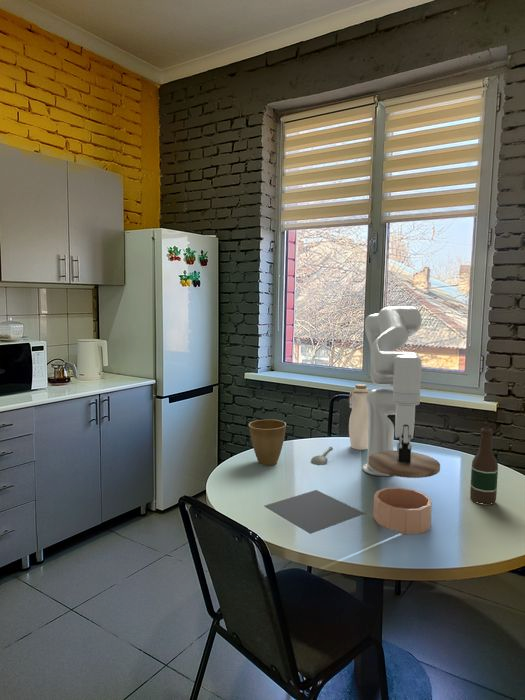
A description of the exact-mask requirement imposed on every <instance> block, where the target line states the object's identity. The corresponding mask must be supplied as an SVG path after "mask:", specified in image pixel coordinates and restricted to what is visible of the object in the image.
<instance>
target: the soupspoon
mask: <svg viewBox="0 0 525 700" xmlns="http://www.w3.org/2000/svg"><path fill="white" fill-rule="evenodd" d="M333 450H334V448H333V447H332V446H329V447H328V448H327V449H326V450H325V451H324V452H323V453H322V454H321V455H319V454H318V455H315V456H312V458H311V460H310V464H312V465H315V466H325V465H326V464H327V463H328V458H327V456H325V455H326V454H327V452H328V451H333Z"/></svg>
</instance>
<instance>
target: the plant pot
mask: <svg viewBox="0 0 525 700" xmlns="http://www.w3.org/2000/svg"><path fill="white" fill-rule="evenodd" d="M286 427H287V423H286V422H285V421H283V420H279V419H259V420H254V421H250V422H249V423H248V429H249V435H250V440H251V444H252V448H253V451H254V454H255V457H256V459H257V462H258V464H259V465H261V466H264V465H265V467H267V466H269V467H270V466H275V465H277V464H278V462H279V458H280V455H281V452H282V448H283V444H284V440H285V435H286V429H287V428H286Z"/></svg>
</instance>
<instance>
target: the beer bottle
mask: <svg viewBox="0 0 525 700" xmlns="http://www.w3.org/2000/svg"><path fill="white" fill-rule="evenodd" d="M479 432H480V441H479V448H478V452H477V453H476V455H475V456H474V457H473V459H472V460H471V461H472V462H471V463H472V464H471V474H470V491H469V492H470V493H469V494H470V495H469V496H470V497H469V498H470V500H471V499H472V500H471V501H472V502H474V503H475V502H478V503H483V504H491V503H494V502H495V501H497V493H498V492H497V491H498V489H497V488H498V477H499V476H498V474H499V473H498V472H499V464H498V463H499V462H498V460H497V458H496V456H495V455H494V453H493V452H494V451H493V433H494V431H493V429H491V428H489V427H482V428H481V429H480V431H479ZM478 503H477V504H478ZM495 503H496V502H495ZM495 503H494V504H495Z"/></svg>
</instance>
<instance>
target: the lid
mask: <svg viewBox="0 0 525 700" xmlns="http://www.w3.org/2000/svg"><path fill="white" fill-rule="evenodd" d="M412 446H413V445H412V443H410V449H411V450H412ZM399 448H400V443H399V442H398V443H397V444H396V450H393V451H381V452H377V453H374V454H372V455H370V456H369V465H370V466H371V467H372V468H373V469H375V470H377V471H379V472H381V473H384V474H388V475H391V476H392V477H398V478H406V479H408V478H410V479H411V478H412V479H421V478H429V477H433V476H435V475H437V474H439V473H440V471H441V463H440V462H439V461H438V460H437V459H435V458H434V457H431V456H429V455H426V454H423V453H418V452H413V451H411V453H410V463H403V462H399Z"/></svg>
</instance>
